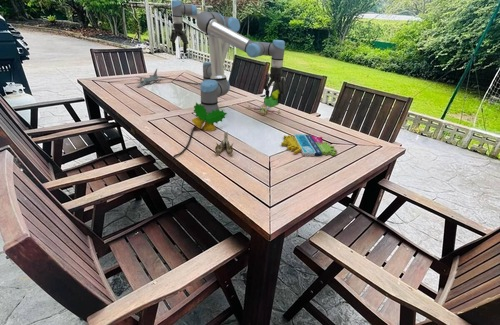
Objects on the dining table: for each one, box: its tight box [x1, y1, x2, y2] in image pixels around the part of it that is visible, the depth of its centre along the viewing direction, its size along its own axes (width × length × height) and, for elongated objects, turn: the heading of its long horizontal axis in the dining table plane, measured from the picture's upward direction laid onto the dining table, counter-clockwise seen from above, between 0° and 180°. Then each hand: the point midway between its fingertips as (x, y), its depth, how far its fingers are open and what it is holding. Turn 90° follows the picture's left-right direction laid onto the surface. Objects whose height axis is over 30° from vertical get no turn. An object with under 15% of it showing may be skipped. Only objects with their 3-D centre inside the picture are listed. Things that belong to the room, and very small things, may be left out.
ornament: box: [191, 102, 228, 132], centre depth 162 cm, size 21×8×15 cm, turn 105°
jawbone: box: [214, 131, 234, 156], centre depth 136 cm, size 9×15×10 cm
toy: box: [246, 95, 283, 116], centre depth 203 cm, size 28×7×30 cm
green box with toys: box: [263, 88, 280, 108], centre depth 176 cm, size 11×9×11 cm
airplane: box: [135, 68, 167, 88], centre depth 254 cm, size 38×31×10 cm
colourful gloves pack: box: [280, 133, 338, 157], centre depth 150 cm, size 26×2×30 cm
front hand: (272, 101), depth 177 cm, fingers closed on green box with toys, 9 cm apart
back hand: (179, 52), depth 216 cm, fingers open, 13 cm apart
